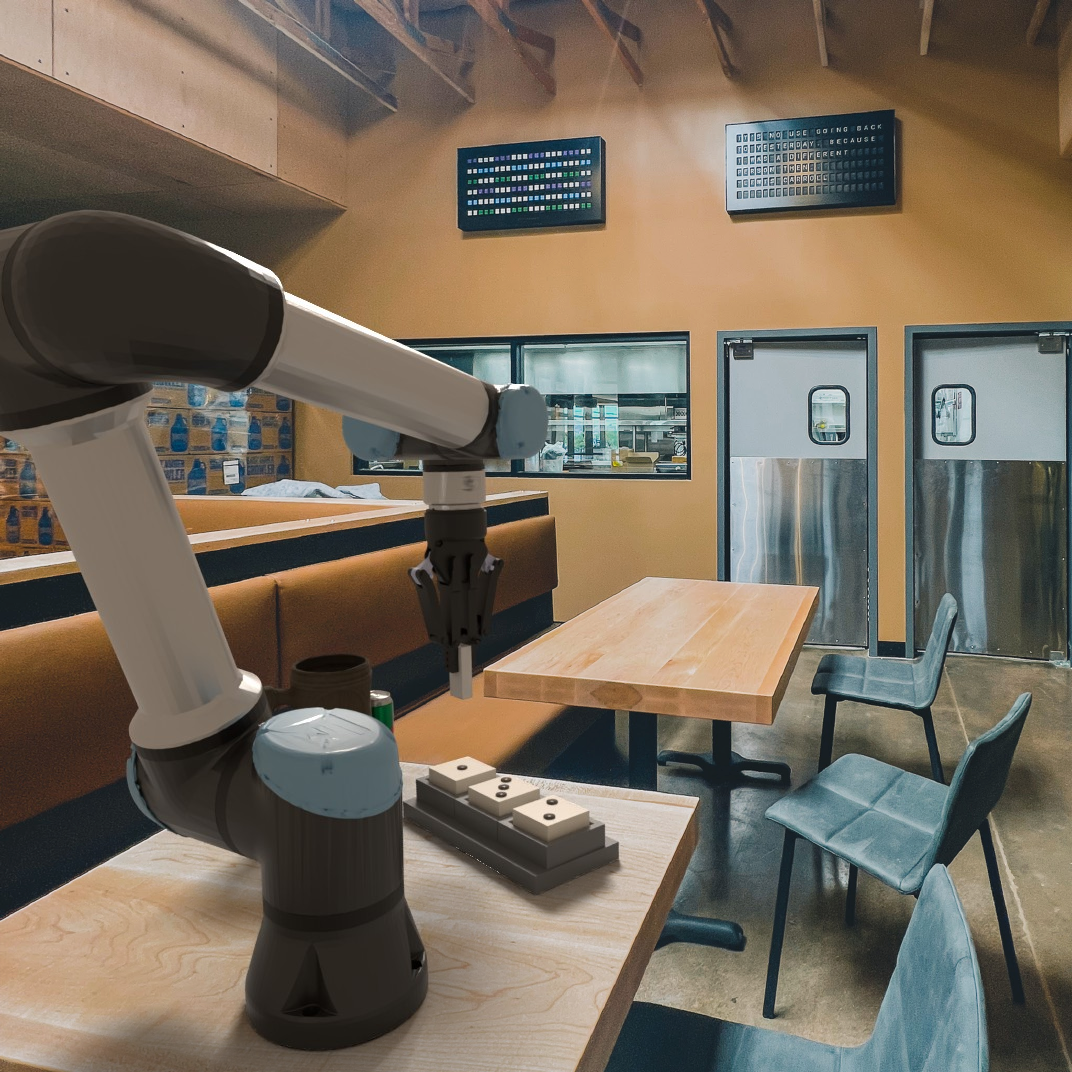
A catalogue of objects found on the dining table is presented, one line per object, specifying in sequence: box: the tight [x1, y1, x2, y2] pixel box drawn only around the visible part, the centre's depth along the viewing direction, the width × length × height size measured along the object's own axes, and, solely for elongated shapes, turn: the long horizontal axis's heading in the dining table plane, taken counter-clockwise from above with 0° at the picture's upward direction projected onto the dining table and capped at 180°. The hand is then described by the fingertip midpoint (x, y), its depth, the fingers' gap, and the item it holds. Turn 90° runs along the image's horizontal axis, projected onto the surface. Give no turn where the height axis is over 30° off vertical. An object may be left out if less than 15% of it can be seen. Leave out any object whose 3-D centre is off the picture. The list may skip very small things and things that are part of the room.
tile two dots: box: [513, 794, 590, 842], centre depth 99 cm, size 6×6×3 cm
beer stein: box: [263, 653, 373, 717], centre depth 111 cm, size 15×11×20 cm
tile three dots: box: [468, 773, 541, 817], centre depth 105 cm, size 6×6×3 cm
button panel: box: [402, 774, 620, 896], centre depth 106 cm, size 12×26×4 cm, turn 39°
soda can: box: [370, 690, 395, 736], centre depth 124 cm, size 5×5×12 cm
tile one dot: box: [428, 755, 497, 795], centre depth 112 cm, size 6×6×3 cm
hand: (461, 696), depth 111 cm, fingers closed
